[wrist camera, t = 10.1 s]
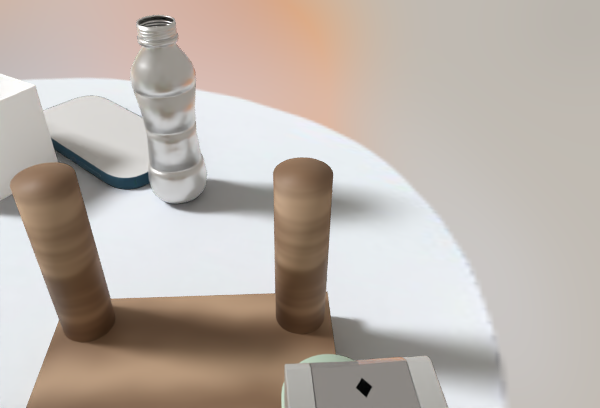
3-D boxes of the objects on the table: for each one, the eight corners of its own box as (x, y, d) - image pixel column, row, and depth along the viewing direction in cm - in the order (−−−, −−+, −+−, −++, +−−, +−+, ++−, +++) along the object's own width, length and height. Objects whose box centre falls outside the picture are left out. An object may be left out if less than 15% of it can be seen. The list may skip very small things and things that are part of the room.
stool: (362, 607, 32) (399, 451, 21) (-32, 632, 30) (-194, 481, 20) (325, 315, 49) (336, 153, 39) (74, 324, 48) (17, 159, 38)
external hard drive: (201, 159, 70) (200, 146, 69) (125, 200, 63) (122, 185, 62) (96, 103, 82) (93, 91, 81) (22, 131, 75) (18, 118, 74)
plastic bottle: (217, 181, 66) (201, 12, 54) (196, 215, 60) (173, 37, 48) (166, 173, 67) (140, 7, 55) (141, 206, 61) (106, 30, 49)
